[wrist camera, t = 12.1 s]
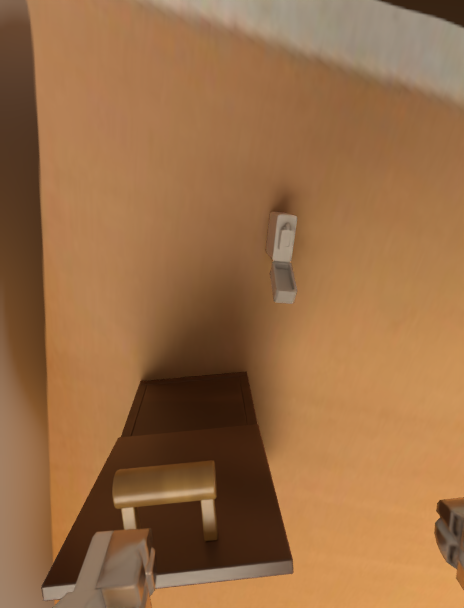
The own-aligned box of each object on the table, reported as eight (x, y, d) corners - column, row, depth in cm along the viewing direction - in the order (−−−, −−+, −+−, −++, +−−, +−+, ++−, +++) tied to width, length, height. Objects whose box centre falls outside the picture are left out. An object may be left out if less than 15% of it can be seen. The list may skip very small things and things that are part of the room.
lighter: (270, 211, 37) (286, 217, 29) (287, 212, 37) (308, 219, 29) (261, 281, 39) (275, 304, 31) (278, 282, 39) (295, 305, 31)
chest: (253, 470, 46) (264, 543, 36) (156, 479, 45) (142, 556, 36) (246, 371, 42) (257, 425, 32) (140, 381, 41) (119, 438, 32)
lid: (293, 574, 18) (287, 479, 17) (42, 602, 17) (26, 506, 17) (258, 432, 32) (254, 377, 31) (119, 446, 32) (112, 390, 31)
